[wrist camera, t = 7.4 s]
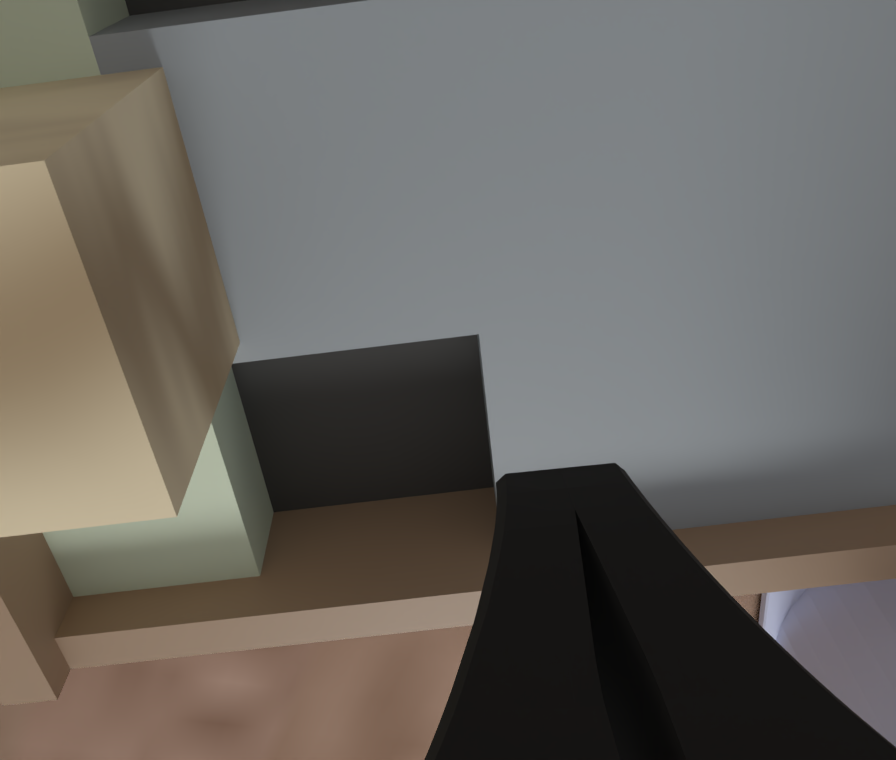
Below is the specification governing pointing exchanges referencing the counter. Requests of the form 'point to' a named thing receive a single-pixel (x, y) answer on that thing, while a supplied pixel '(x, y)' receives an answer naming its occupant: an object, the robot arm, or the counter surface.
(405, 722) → the counter surface
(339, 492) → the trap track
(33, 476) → the wood block
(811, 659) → the robot arm
